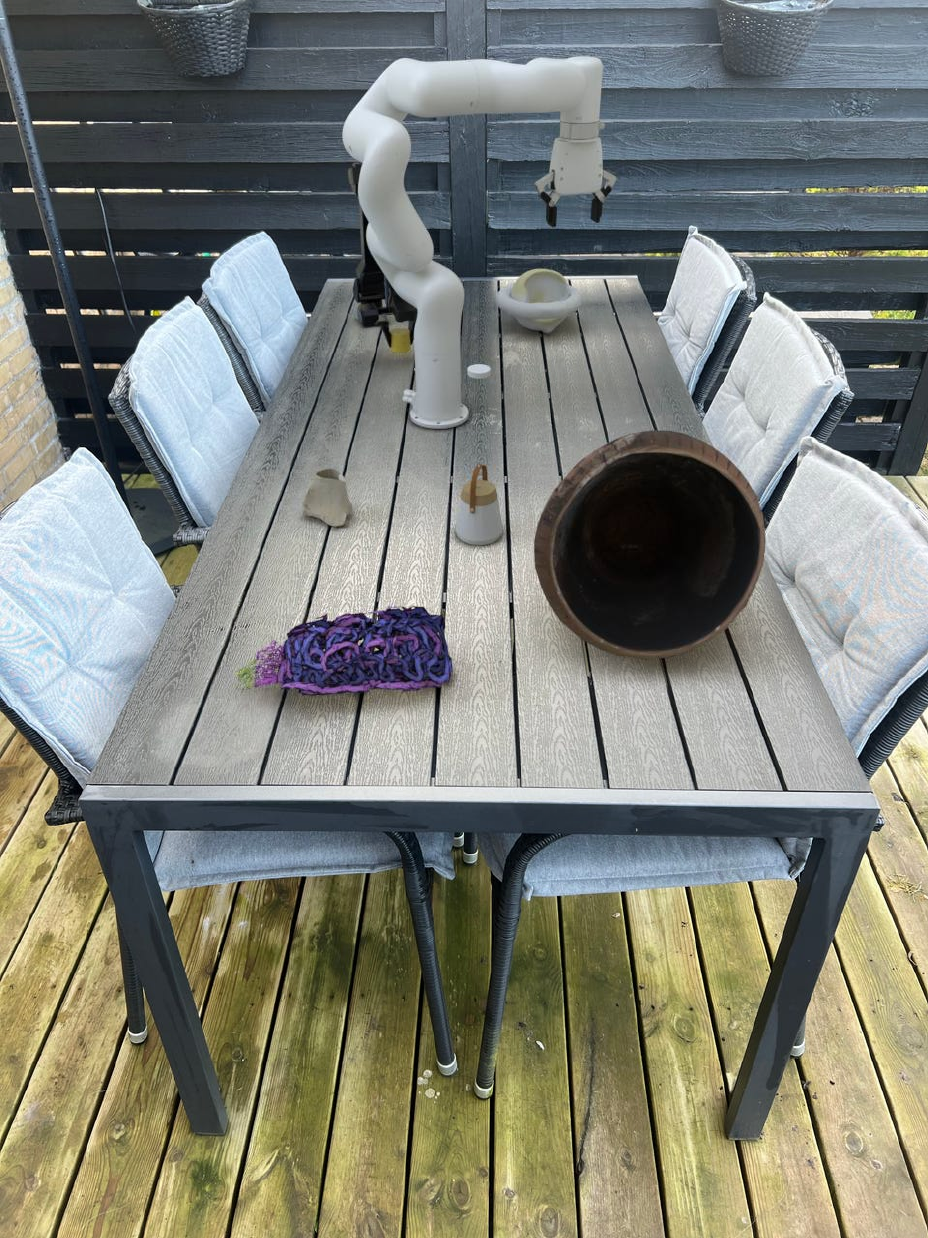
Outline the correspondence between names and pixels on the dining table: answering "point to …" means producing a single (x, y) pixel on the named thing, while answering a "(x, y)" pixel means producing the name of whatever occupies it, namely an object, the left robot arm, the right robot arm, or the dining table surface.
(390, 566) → the dining table surface
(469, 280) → the dining table surface
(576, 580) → the pot
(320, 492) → the beige irregular piece
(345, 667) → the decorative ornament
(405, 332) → the tin
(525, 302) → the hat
